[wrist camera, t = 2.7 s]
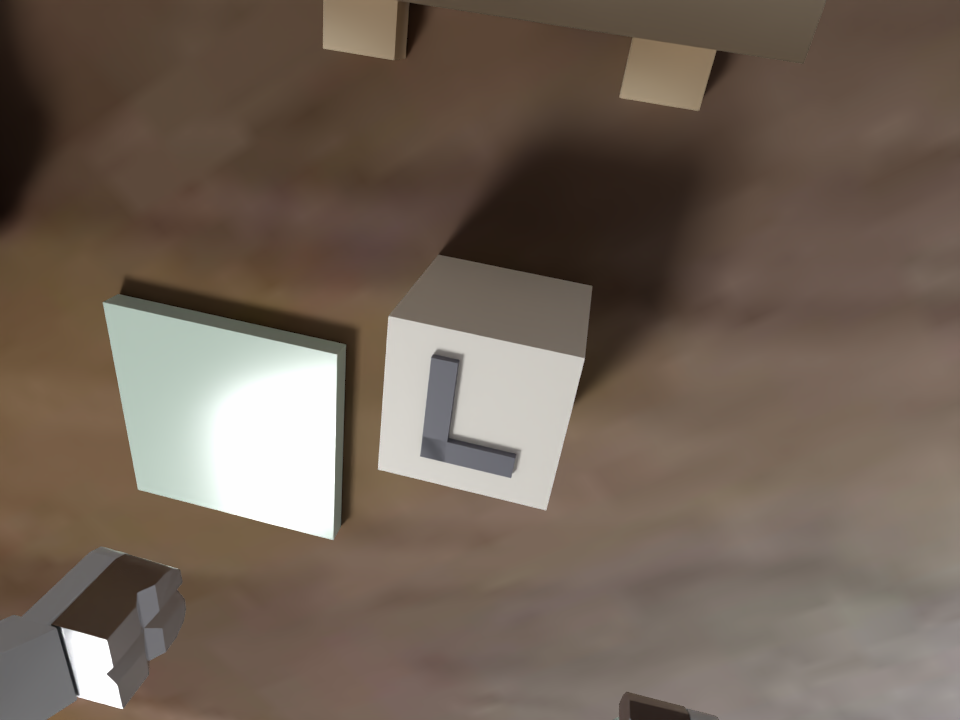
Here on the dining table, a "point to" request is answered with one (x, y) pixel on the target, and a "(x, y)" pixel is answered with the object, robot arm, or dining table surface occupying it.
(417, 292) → the letter cube
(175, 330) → the green tile
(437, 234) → the dining table surface
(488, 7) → the oak screen
